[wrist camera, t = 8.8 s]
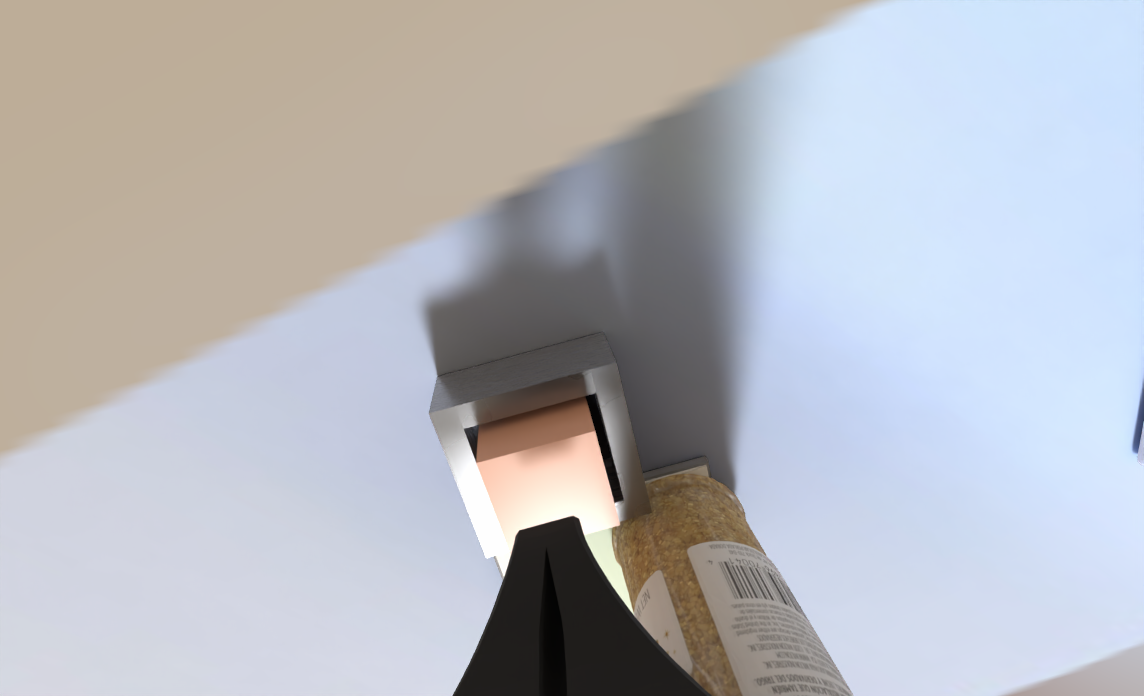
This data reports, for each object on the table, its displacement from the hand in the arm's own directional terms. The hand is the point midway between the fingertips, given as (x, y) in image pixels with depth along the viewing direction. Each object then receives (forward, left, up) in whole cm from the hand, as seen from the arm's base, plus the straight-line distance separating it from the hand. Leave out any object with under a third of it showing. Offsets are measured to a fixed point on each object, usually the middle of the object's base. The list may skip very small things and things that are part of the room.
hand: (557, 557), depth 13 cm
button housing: (0, 0, -6) cm, 6 cm away
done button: (0, 0, -4) cm, 4 cm away
